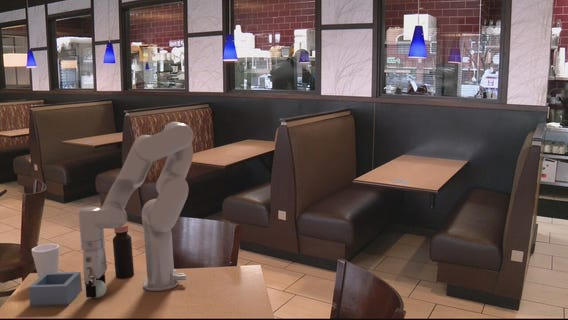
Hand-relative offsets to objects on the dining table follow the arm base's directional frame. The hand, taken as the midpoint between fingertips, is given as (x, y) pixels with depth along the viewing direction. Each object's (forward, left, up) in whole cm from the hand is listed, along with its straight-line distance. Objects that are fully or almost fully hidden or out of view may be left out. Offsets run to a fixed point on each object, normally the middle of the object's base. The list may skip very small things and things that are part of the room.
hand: (96, 291), depth 177 cm
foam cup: (+24, -17, -2) cm, 29 cm away
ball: (0, 0, +1) cm, 1 cm away
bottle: (-4, -19, -2) cm, 20 cm away
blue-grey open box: (+14, 0, -2) cm, 14 cm away
